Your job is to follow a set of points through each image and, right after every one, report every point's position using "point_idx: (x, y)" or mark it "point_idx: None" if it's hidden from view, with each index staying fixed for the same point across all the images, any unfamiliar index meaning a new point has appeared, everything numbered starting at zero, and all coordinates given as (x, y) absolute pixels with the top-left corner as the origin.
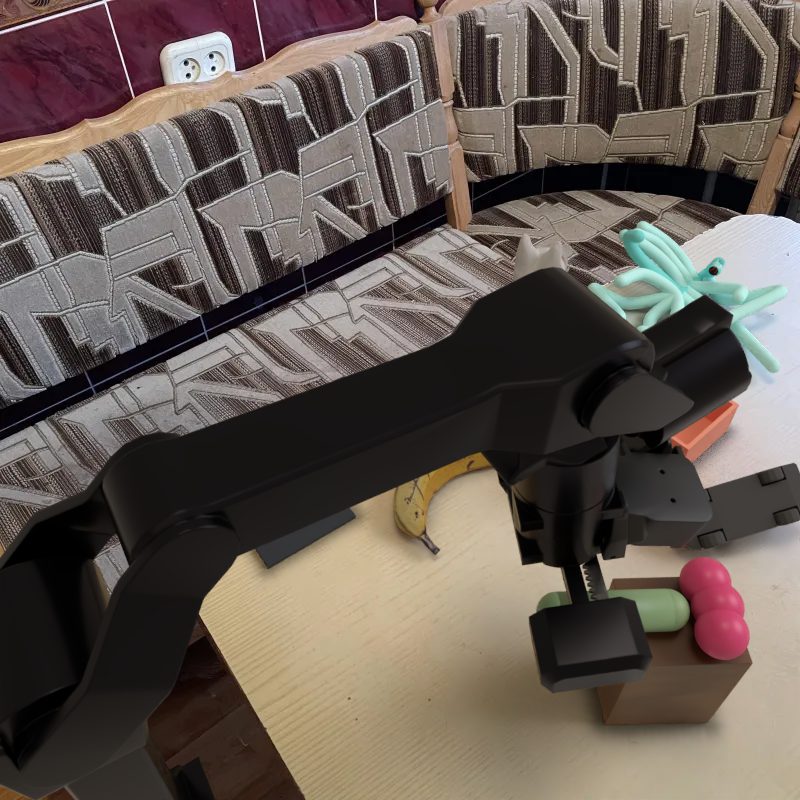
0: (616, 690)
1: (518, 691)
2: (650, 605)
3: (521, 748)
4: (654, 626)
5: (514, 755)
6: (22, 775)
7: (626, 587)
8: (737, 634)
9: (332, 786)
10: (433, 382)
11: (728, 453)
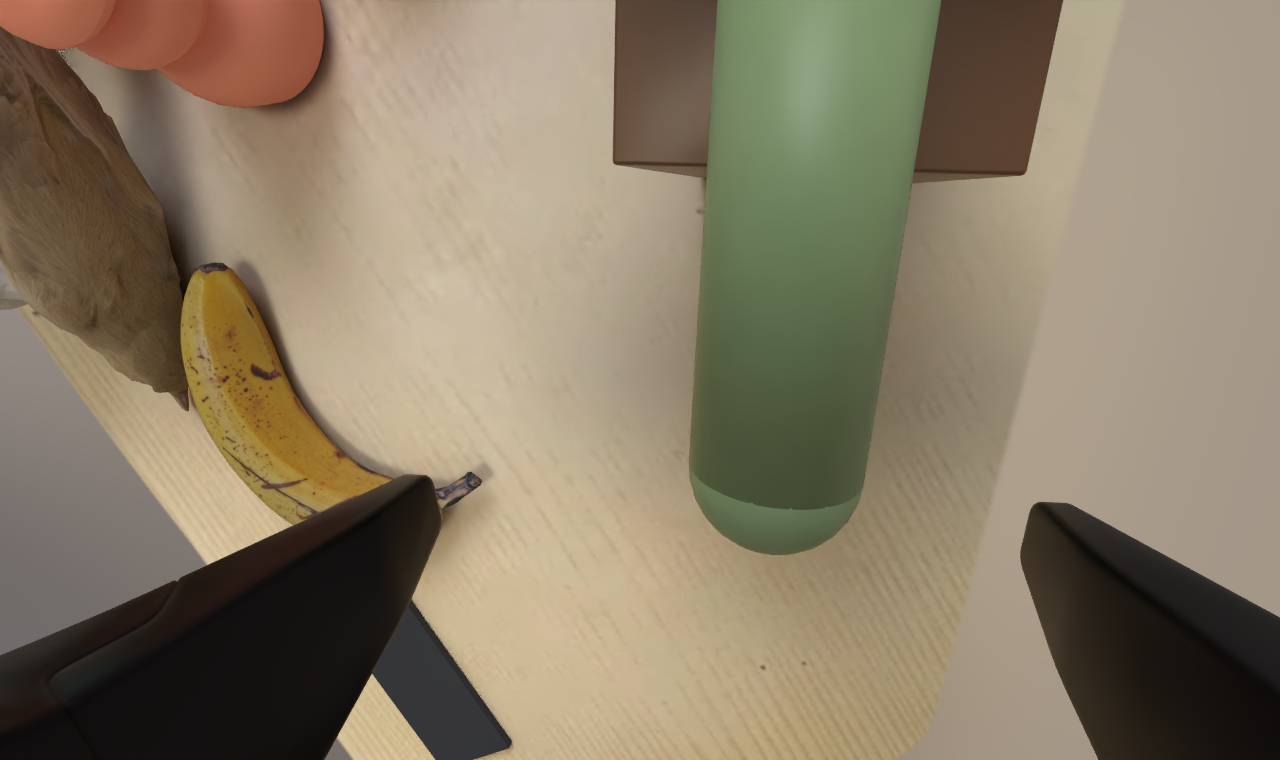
0: (922, 180)
1: None
2: (854, 45)
3: (920, 384)
4: (932, 39)
5: (932, 402)
6: None
7: (656, 112)
8: None
9: (920, 720)
10: None
11: None
